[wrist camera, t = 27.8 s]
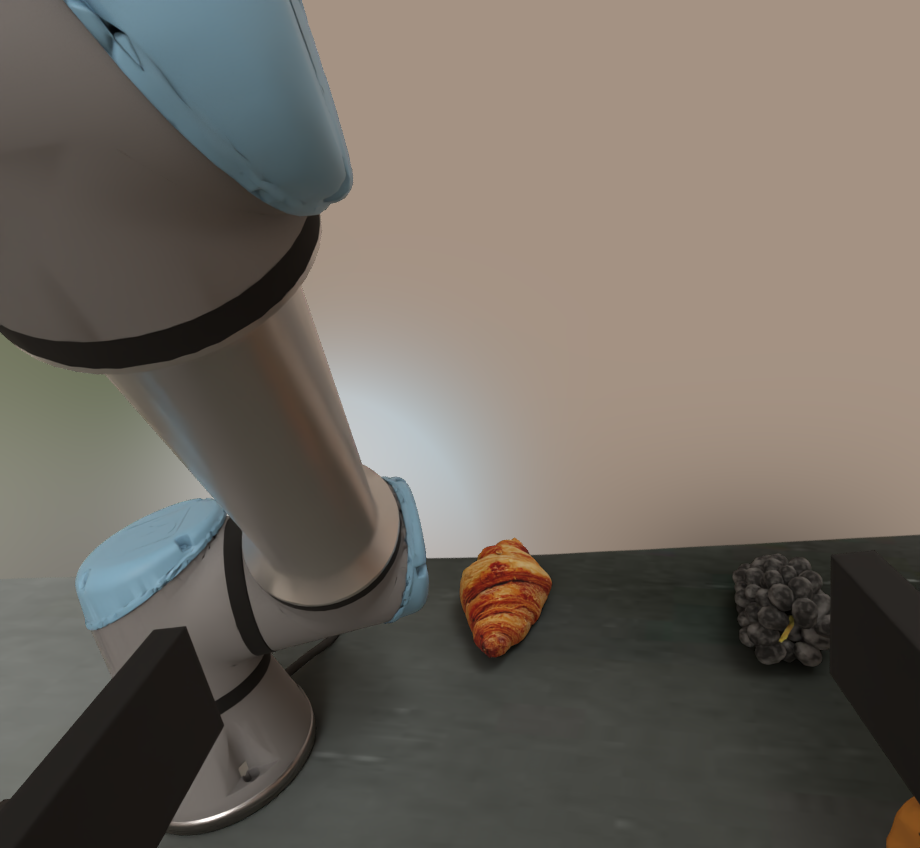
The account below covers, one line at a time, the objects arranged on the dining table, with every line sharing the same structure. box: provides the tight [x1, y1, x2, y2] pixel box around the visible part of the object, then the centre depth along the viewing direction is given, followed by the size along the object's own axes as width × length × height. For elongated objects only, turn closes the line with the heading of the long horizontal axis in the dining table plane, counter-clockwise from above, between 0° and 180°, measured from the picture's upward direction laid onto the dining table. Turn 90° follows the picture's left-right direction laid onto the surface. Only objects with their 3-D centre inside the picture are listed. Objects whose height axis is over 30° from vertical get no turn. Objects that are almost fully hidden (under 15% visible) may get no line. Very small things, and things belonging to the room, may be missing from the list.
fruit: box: [733, 554, 831, 667], centre depth 57 cm, size 9×8×15 cm
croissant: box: [460, 538, 552, 658], centre depth 68 cm, size 21×10×8 cm, turn 171°
